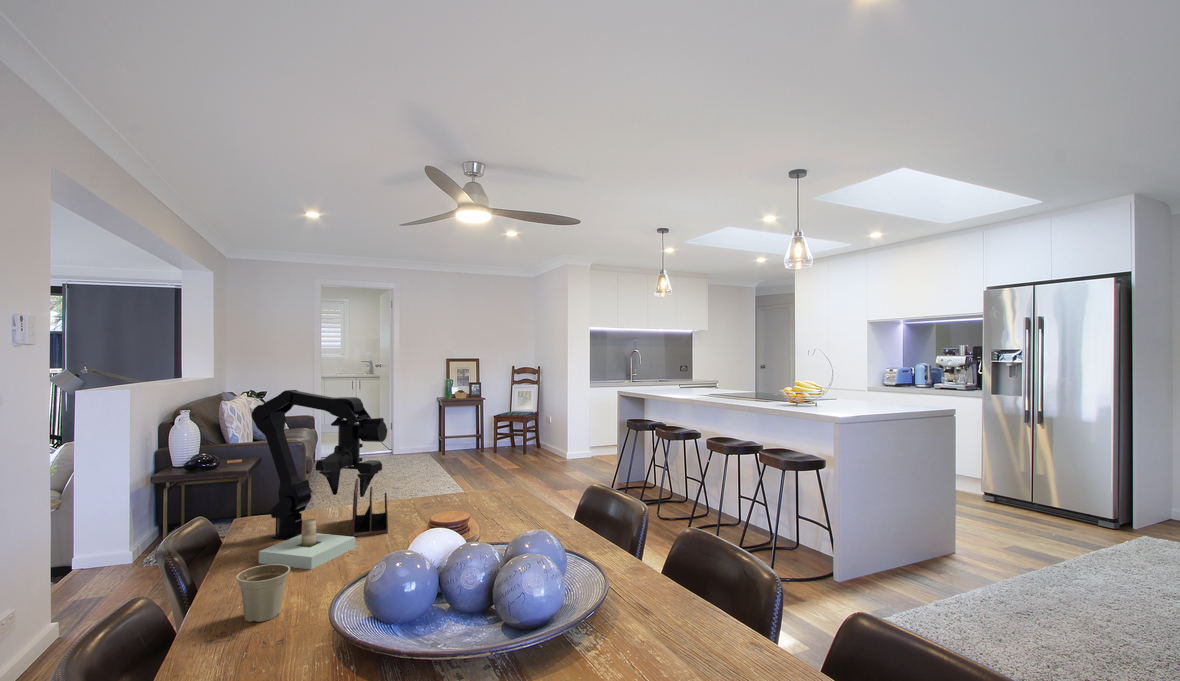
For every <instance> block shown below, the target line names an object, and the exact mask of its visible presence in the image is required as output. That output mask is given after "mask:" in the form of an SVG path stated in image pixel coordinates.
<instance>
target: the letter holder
mask: <svg viewBox="0 0 1180 681" xmlns="http://www.w3.org/2000/svg"><path fill="white" fill-rule="evenodd" d="M358 494H359V477H357V478H355V482H354V489H353V499H352V501H353V502H352V521H351V524H352V525H351V537H352V536H357V537H363V535H367V536H375V535H374V534H376V535H384V534H385V533H386V534H388V533H389V521H388V520H389V518H388V513H389V512H388V495H387V492H384V512H379V513H373V486H372V485H371V486H370V489H369V506H368V507H367V509H366V512H365V513H364V514H358V513H357V512H358V497H359V496H358Z"/></svg>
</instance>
